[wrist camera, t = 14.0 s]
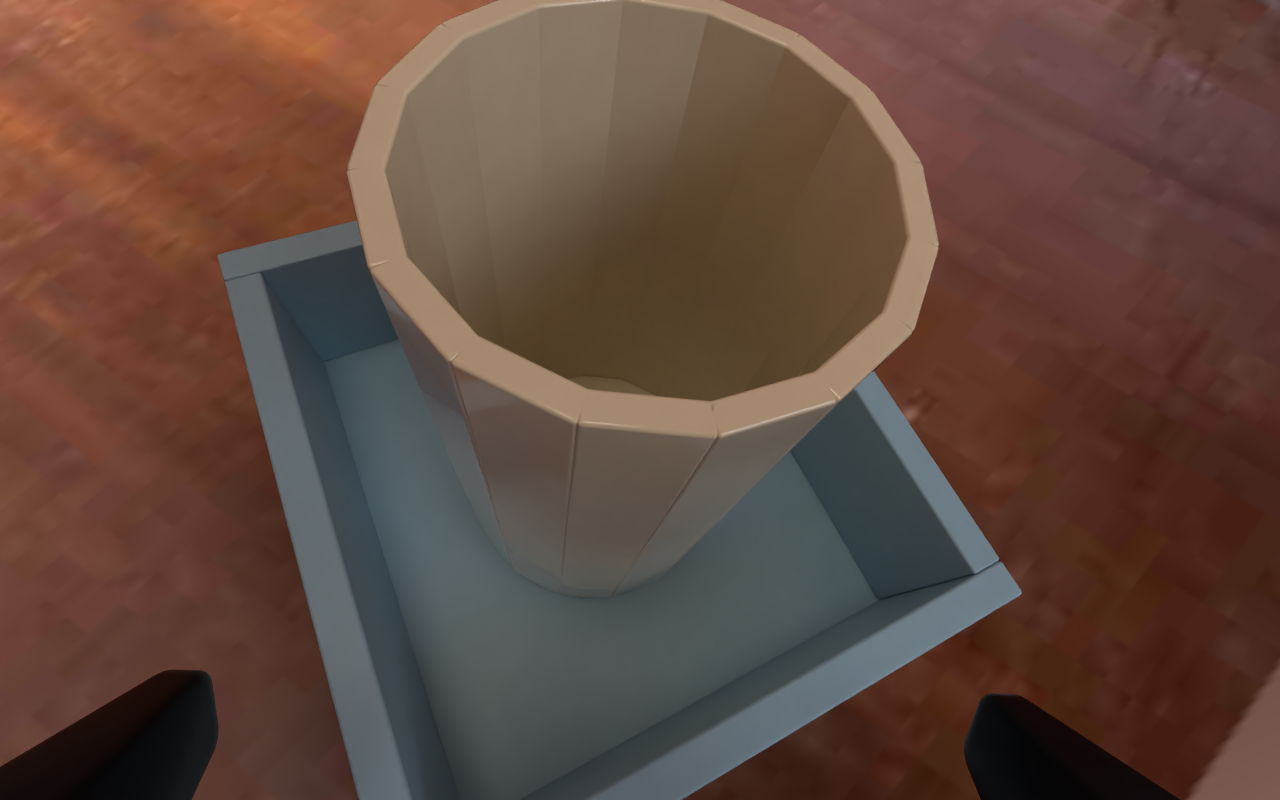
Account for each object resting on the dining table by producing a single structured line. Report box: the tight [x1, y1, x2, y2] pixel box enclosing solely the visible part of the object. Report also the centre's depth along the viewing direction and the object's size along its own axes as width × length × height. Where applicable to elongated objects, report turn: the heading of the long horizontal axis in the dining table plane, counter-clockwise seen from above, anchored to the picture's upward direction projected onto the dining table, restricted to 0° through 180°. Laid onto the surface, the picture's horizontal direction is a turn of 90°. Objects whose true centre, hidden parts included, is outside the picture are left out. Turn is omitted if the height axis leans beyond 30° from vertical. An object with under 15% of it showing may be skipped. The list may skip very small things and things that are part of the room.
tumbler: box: [347, 0, 939, 598], centre depth 13 cm, size 7×7×12 cm
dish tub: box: [218, 220, 1022, 800], centre depth 16 cm, size 15×14×5 cm
